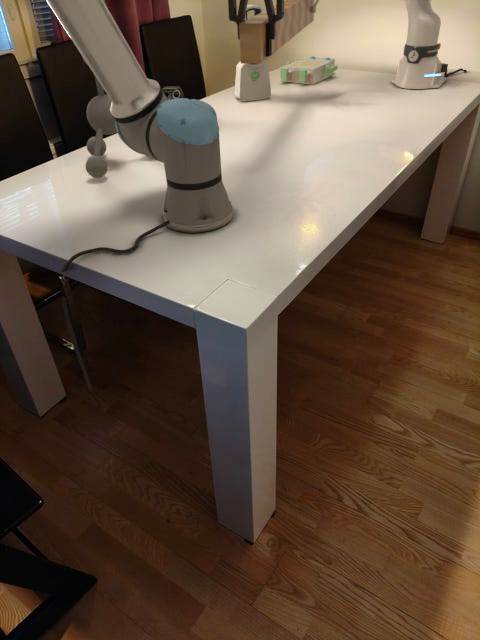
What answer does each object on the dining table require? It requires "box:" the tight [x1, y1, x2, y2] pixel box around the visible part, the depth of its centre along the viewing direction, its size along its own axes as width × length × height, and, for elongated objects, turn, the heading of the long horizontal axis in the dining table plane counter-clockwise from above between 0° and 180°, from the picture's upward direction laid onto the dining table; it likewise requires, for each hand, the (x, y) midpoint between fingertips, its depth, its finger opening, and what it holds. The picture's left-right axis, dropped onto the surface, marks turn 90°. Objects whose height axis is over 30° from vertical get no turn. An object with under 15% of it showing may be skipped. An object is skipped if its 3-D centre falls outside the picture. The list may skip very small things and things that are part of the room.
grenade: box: [161, 86, 185, 100], centre depth 166 cm, size 7×6×10 cm
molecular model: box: [81, 55, 149, 179], centre depth 128 cm, size 24×22×30 cm
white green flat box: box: [280, 56, 338, 85], centre depth 206 cm, size 26×6×20 cm
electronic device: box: [234, 3, 272, 103], centre depth 177 cm, size 12×8×30 cm, turn 105°
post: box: [239, 0, 316, 64], centre depth 135 cm, size 71×5×8 cm, turn 164°
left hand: (257, 55), depth 115 cm, fingers closed on post, 5 cm apart
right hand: (303, 12), depth 158 cm, fingers closed on post, 5 cm apart
